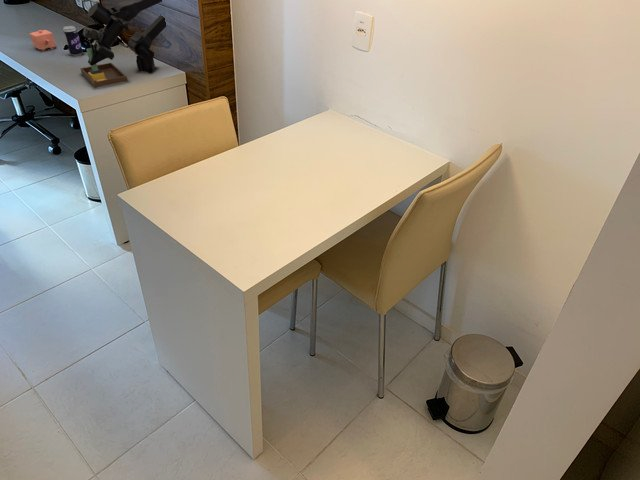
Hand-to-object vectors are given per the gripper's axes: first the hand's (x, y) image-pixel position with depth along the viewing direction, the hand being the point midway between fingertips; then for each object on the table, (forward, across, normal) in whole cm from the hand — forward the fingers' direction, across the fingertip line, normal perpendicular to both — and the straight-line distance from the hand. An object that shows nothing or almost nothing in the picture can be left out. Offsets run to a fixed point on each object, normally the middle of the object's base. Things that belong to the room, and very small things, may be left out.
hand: (89, 64), depth 199 cm
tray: (+2, -1, +8) cm, 8 cm away
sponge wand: (+3, +1, +5) cm, 6 cm away
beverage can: (+4, -37, +5) cm, 38 cm away
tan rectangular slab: (+3, +6, +6) cm, 9 cm away
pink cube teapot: (+12, -53, -2) cm, 54 cm away
